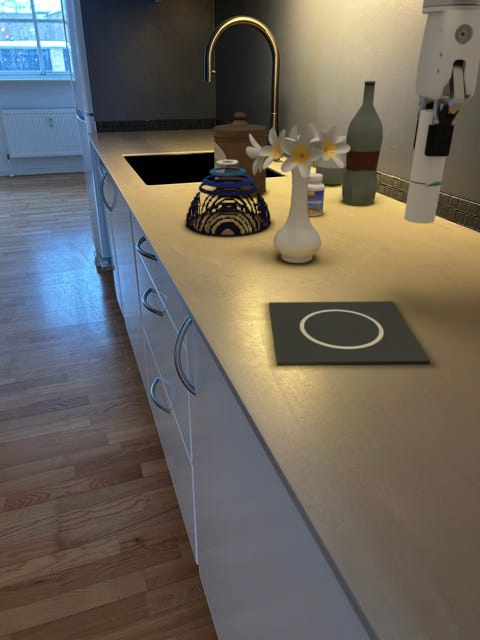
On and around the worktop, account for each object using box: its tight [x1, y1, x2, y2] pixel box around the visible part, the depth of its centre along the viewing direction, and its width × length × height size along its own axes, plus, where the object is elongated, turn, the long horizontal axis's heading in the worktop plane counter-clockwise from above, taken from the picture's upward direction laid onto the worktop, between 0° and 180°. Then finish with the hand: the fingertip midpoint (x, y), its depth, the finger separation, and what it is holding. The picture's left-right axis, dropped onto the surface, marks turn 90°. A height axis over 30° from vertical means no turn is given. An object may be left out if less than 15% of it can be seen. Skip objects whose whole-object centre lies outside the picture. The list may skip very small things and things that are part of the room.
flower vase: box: [246, 122, 350, 264], centre depth 95 cm, size 13×18×25 cm
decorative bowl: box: [185, 160, 272, 238], centre depth 119 cm, size 20×20×14 cm
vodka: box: [341, 80, 384, 207], centre depth 133 cm, size 9×9×30 cm
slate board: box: [268, 301, 431, 366], centre depth 75 cm, size 20×18×1 cm
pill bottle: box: [308, 172, 326, 217], centre depth 127 cm, size 5×5×10 cm
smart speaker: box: [315, 135, 347, 187], centre depth 156 cm, size 10×9×14 cm
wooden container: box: [213, 111, 267, 199], centre depth 145 cm, size 15×15×22 cm
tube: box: [403, 109, 447, 225], centre depth 72 cm, size 4×4×15 cm
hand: (430, 151), depth 71 cm, fingers closed on tube, 4 cm apart
